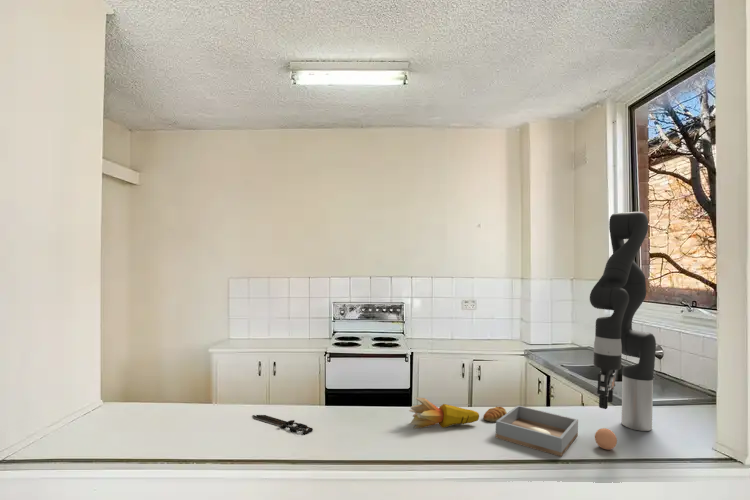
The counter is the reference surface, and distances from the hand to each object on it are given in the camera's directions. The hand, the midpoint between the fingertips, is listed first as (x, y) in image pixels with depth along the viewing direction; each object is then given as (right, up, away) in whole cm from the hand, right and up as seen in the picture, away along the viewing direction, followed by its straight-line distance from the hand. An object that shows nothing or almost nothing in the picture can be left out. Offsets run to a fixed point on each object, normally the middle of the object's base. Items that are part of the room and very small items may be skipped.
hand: (605, 404), depth 133 cm
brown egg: (0, -10, 0) cm, 10 cm away
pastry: (-28, -13, +22) cm, 38 cm away
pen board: (-18, -13, +7) cm, 24 cm away
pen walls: (-18, -12, +7) cm, 23 cm away
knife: (-103, -11, +11) cm, 104 cm away
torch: (-48, -13, +14) cm, 51 cm away
